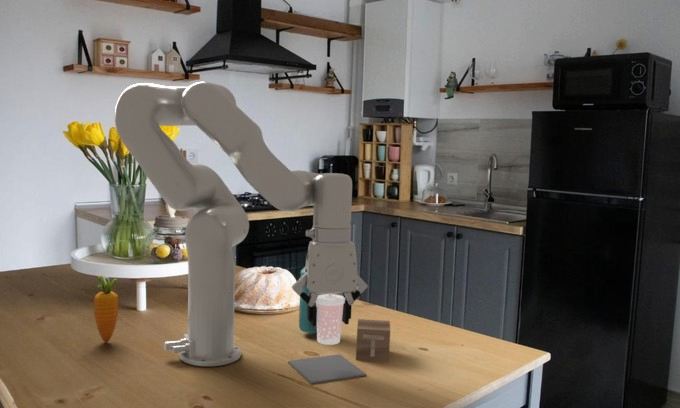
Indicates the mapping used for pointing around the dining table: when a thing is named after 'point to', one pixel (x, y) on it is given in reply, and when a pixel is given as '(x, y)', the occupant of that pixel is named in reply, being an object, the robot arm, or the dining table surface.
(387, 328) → the letter cube
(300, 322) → the beverage bottle
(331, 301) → the beverage cup
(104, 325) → the carrot
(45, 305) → the dining table surface
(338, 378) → the grey mat
